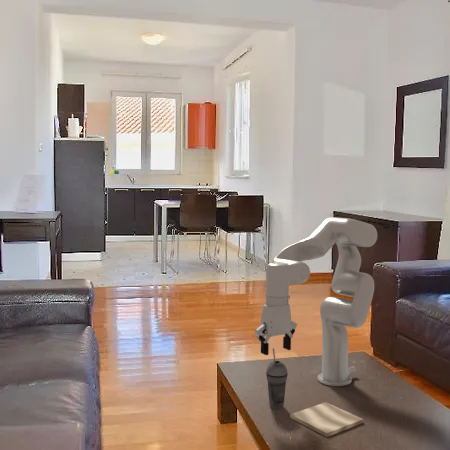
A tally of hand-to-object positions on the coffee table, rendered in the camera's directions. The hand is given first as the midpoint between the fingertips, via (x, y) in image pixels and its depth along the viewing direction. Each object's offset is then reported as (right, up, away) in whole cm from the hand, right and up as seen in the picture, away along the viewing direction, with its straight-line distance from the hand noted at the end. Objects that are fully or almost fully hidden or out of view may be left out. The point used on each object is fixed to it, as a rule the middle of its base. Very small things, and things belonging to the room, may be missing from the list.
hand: (275, 351), depth 185 cm
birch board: (+15, -20, -8) cm, 26 cm away
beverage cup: (0, -19, +2) cm, 19 cm away
